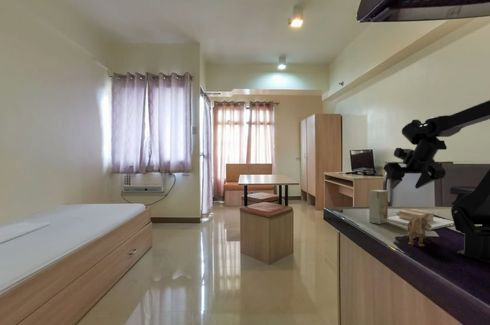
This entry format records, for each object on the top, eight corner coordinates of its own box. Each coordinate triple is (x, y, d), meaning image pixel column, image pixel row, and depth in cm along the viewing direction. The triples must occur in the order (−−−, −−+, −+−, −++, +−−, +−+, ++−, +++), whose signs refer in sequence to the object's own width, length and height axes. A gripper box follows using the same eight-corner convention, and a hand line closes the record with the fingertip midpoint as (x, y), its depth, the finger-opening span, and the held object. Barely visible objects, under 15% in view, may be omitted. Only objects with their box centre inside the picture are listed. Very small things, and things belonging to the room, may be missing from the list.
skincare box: (379, 224, 97) (380, 191, 97) (368, 222, 101) (368, 190, 100) (388, 221, 101) (388, 190, 100) (377, 219, 104) (377, 189, 104)
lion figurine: (431, 251, 70) (432, 218, 70) (408, 248, 73) (408, 216, 73) (425, 236, 83) (425, 208, 83) (405, 233, 86) (406, 206, 86)
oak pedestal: (420, 223, 95) (420, 215, 95) (399, 218, 103) (399, 210, 102) (433, 220, 99) (433, 212, 99) (412, 216, 106) (412, 208, 106)
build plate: (428, 230, 89) (428, 228, 89) (385, 219, 104) (385, 217, 104) (457, 223, 97) (457, 221, 97) (413, 214, 111) (413, 213, 111)
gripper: (435, 139, 91) (415, 172, 101) (384, 139, 90) (369, 173, 100) (457, 158, 83) (433, 193, 93) (401, 159, 81) (383, 194, 91)
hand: (404, 188), depth 94 cm, fingers open, 9 cm apart
